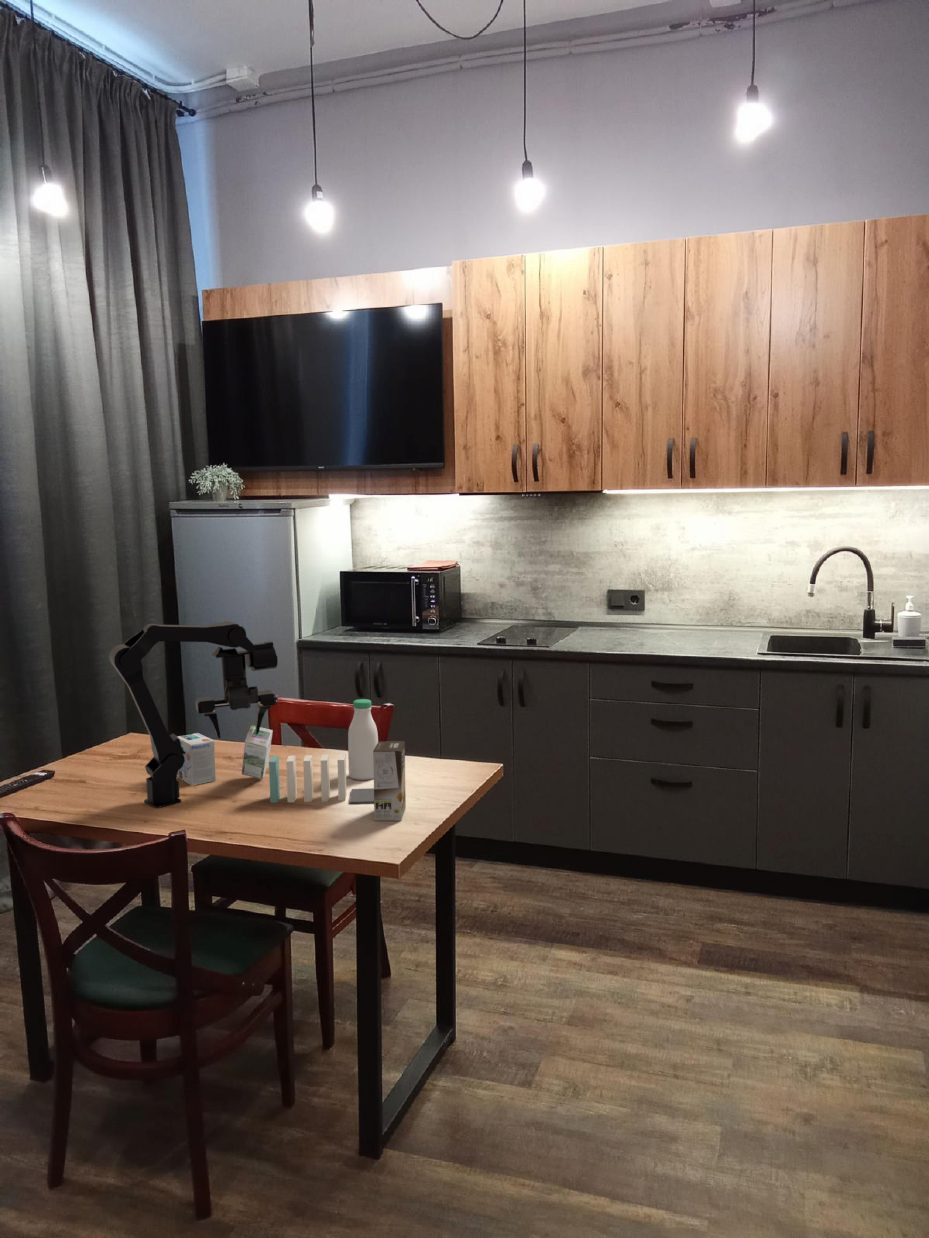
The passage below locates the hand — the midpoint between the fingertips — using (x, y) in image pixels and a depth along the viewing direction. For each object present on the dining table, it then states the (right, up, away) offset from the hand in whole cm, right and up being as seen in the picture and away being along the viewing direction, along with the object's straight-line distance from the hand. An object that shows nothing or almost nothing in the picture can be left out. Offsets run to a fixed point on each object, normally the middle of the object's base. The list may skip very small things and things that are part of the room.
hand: (238, 735), depth 234 cm
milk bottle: (+30, -12, +12) cm, 34 cm away
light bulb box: (-14, -13, +11) cm, 22 cm away
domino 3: (+18, -14, -5) cm, 24 cm away
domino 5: (+26, -14, -5) cm, 30 cm away
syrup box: (+1, -10, +12) cm, 16 cm away
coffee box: (+39, -16, -17) cm, 45 cm away
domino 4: (+22, -14, -5) cm, 27 cm away
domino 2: (+14, -14, -6) cm, 21 cm away
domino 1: (+10, -15, -6) cm, 19 cm away
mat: (+33, -14, -4) cm, 36 cm away
